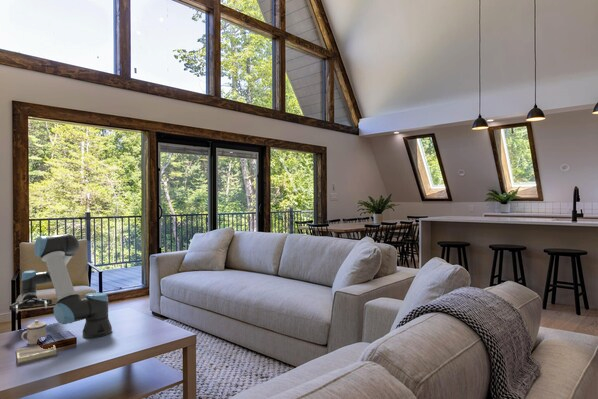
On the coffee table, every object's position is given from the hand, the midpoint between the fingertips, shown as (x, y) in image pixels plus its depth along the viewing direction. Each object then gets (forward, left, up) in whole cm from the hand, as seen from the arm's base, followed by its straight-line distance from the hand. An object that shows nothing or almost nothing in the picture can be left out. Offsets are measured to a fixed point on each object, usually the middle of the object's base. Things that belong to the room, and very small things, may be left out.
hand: (32, 308), depth 214 cm
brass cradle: (-23, +26, -16) cm, 38 cm away
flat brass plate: (-19, +22, -17) cm, 33 cm away
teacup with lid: (-7, +8, -17) cm, 20 cm away
